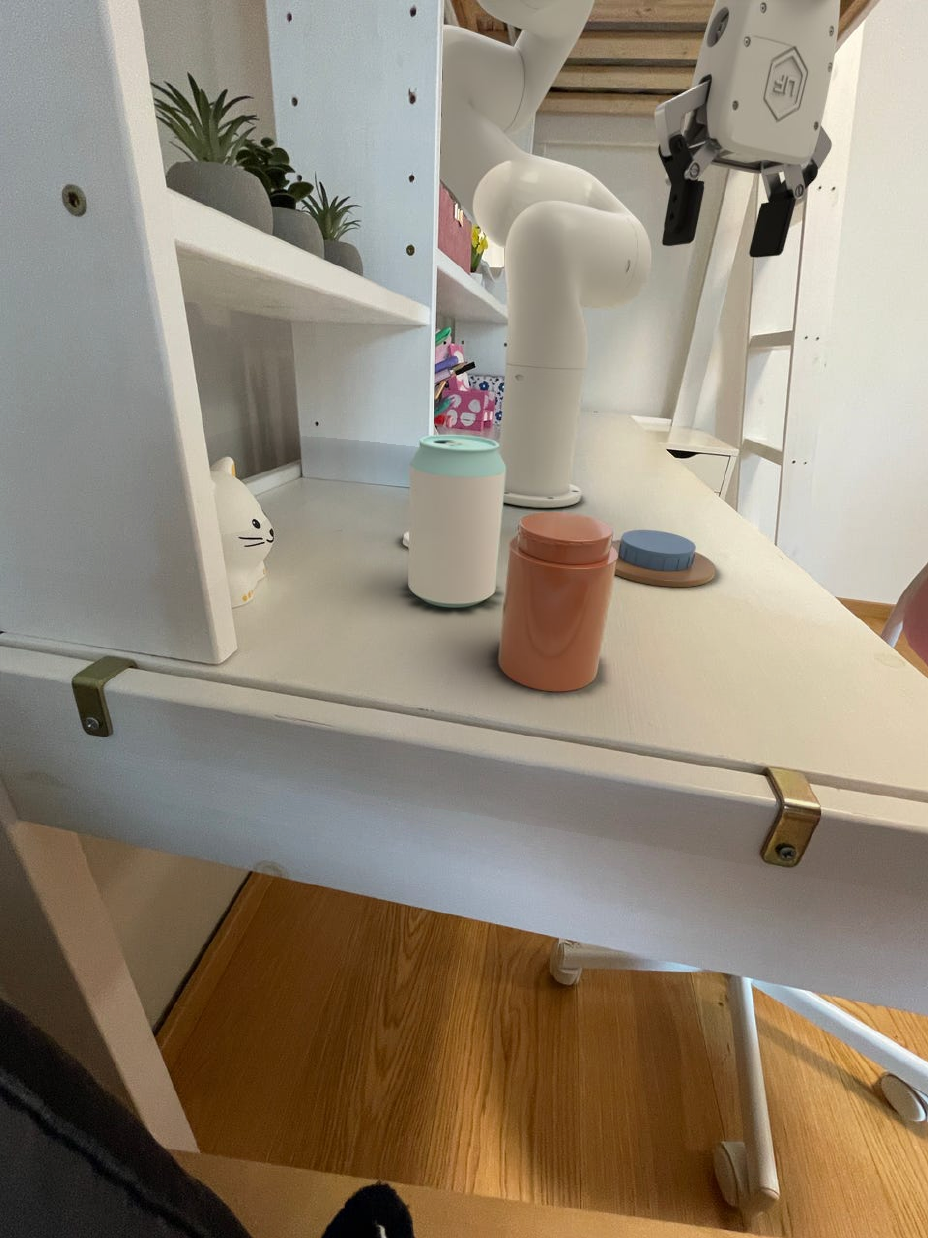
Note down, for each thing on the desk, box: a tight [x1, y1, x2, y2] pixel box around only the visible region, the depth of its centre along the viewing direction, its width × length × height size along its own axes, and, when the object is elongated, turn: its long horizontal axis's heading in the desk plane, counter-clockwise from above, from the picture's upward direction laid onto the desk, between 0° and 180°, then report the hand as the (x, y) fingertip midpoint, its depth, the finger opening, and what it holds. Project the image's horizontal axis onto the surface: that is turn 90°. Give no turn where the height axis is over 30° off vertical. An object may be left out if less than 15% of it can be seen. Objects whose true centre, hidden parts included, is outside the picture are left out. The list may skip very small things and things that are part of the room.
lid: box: [619, 529, 697, 571], centre depth 55 cm, size 7×7×2 cm
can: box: [407, 434, 506, 609], centre depth 45 cm, size 7×7×12 cm
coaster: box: [611, 539, 717, 588], centre depth 56 cm, size 11×11×1 cm
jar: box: [497, 511, 618, 692], centre depth 36 cm, size 6×6×9 cm
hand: (722, 250), depth 50 cm, fingers open, 9 cm apart
